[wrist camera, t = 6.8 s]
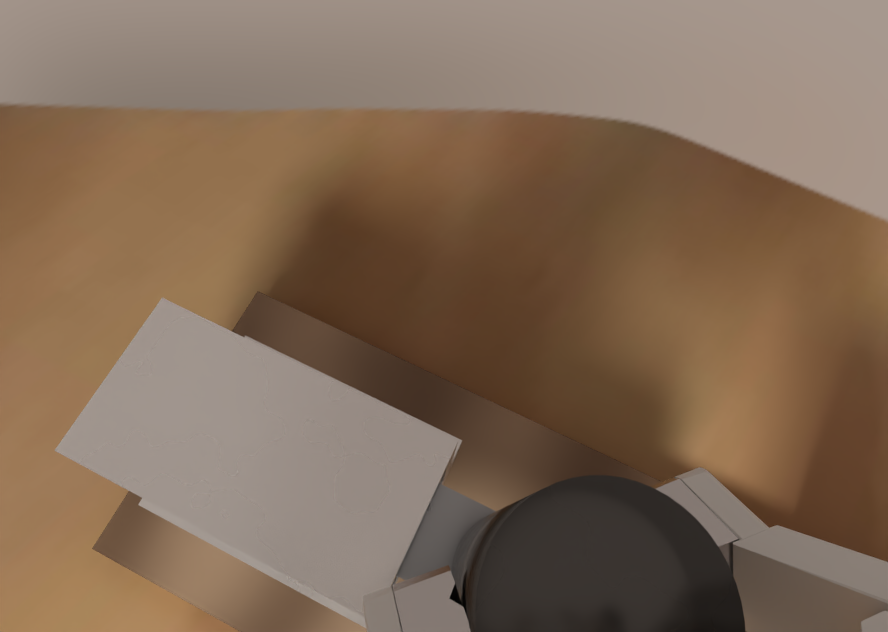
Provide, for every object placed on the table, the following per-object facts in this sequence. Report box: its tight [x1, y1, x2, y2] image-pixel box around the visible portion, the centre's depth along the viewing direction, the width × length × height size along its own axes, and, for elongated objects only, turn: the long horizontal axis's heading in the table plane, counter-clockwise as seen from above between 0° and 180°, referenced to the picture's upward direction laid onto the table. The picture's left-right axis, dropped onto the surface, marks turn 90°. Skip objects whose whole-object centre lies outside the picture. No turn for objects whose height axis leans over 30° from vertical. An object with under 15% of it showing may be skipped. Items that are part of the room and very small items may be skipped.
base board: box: [92, 292, 747, 632], centre depth 20 cm, size 26×10×1 cm, turn 64°
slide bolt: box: [396, 475, 745, 632], centre depth 12 cm, size 15×3×10 cm, turn 64°
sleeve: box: [55, 298, 462, 628], centre depth 18 cm, size 9×6×6 cm
